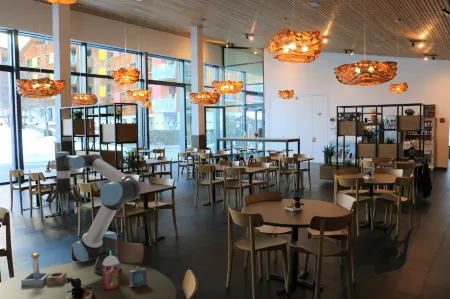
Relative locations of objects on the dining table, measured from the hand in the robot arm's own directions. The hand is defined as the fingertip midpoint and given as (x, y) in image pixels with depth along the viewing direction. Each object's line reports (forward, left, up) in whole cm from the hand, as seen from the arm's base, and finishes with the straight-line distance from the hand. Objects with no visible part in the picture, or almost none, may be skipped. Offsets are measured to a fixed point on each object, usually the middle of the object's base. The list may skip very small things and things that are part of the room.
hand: (64, 213), depth 229 cm
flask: (-47, +28, -35) cm, 65 cm away
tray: (+10, +18, -35) cm, 40 cm away
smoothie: (-33, +29, -35) cm, 56 cm away
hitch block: (-1, +18, -35) cm, 39 cm away
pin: (+10, +18, -34) cm, 39 cm away
